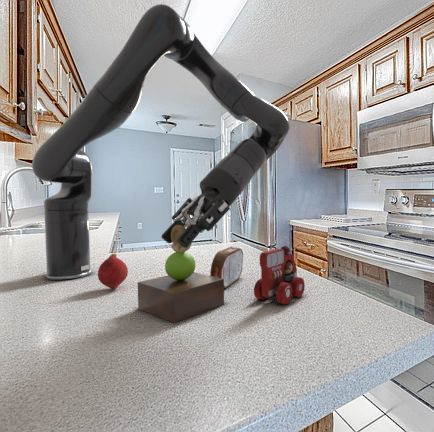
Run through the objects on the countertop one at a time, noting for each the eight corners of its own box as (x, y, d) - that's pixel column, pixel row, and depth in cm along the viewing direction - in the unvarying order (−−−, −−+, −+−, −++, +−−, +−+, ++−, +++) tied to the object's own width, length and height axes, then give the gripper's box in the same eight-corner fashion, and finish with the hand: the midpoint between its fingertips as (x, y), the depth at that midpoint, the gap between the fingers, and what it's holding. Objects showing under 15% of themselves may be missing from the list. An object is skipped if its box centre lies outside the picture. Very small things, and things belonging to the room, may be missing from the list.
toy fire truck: (308, 292, 67) (309, 245, 66) (278, 310, 56) (278, 253, 56) (281, 287, 70) (282, 242, 70) (248, 303, 60) (248, 250, 59)
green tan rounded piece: (181, 286, 54) (180, 218, 53) (159, 280, 57) (157, 216, 56) (205, 279, 58) (204, 216, 58) (182, 274, 62) (182, 215, 61)
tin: (233, 275, 81) (233, 244, 80) (245, 276, 80) (245, 244, 80) (208, 292, 66) (208, 254, 66) (222, 293, 66) (222, 254, 65)
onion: (114, 293, 65) (113, 256, 65) (91, 292, 67) (90, 255, 66) (133, 286, 71) (132, 251, 71) (112, 284, 72) (111, 250, 72)
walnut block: (138, 309, 57) (137, 282, 56) (188, 293, 66) (187, 270, 65) (174, 323, 50) (174, 293, 50) (224, 304, 59) (224, 278, 59)
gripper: (199, 168, 67) (143, 226, 59) (236, 163, 56) (174, 232, 49) (220, 193, 71) (171, 250, 63) (259, 193, 60) (205, 261, 53)
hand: (172, 242), depth 56 cm, fingers closed on green tan rounded piece, 6 cm apart
